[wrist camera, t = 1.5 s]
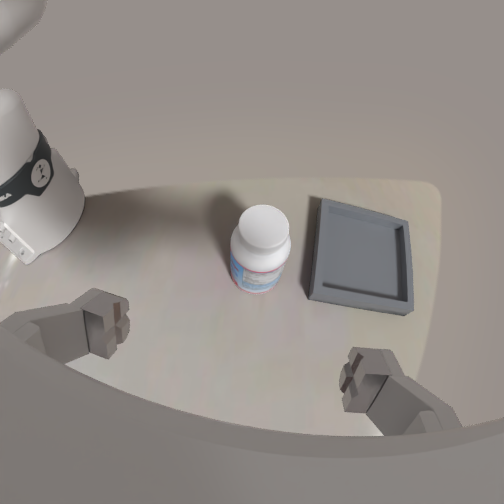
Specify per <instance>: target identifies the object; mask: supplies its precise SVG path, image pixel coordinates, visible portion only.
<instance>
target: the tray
mask: <svg viewBox="0 0 504 504" xmlns="http://www.w3.org/2000/svg"><path fill="white" fill-rule="evenodd" d="M308 299H309V300H314V301H319V302H325V303H330V304H336V305H341V306H347V307H353V308H359V309H364V310H370V311H376V312H382V313H389V314H395V315H401V316H405V315H407V314H408V313H410V312H412V311H414V293H413V270H412V256H411V244H410V235H409V226H408V221H405V220H402V219H399V218H395V217H392V216H388V215H385V214H381V213H377V212H374V211H370V210H366V209H363V208H359V207H355V206H351V205H347V204H343V203H339V202H335V201H331V200H327V199H322V200H321V202H320V205H319V207H318V212H317V224H316V234H315V244H314V254H313V263H312V272H311V280H310V288H309V295H308Z"/></svg>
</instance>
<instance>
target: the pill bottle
mask: <svg viewBox="0 0 504 504" xmlns="http://www.w3.org/2000/svg"><path fill="white" fill-rule="evenodd" d="M288 233H289V223H288V220H287V218H286V216H285V215H284V214H283V213H282V212H281V211H280V210H279V209H277V208H275V207H273V206H270V205H263V204H261V205H255V206H252V207H250V208H248V209H247V210H245V211H244V212H243V213H242V215H241V217H240V219H239V224H238V225H237V226H236V228H235V229H234V231H233V233H232V236H231V242H230V263H231V277H232V280H233V282H234V284H235V285H236V286H237V287H238V288H239V289H240V290H241V291H243V292H246V293H249V294H264V293H267V292H269V291H270V290H272V289H273V288H274V287H275V286H276V284H277V283H278V281H279V279H280V276H281V274H282V271H283V269H284V266H285V263H286V261H287V258H288V256H289V253H290V249H291V240H290V236H289V234H288Z"/></svg>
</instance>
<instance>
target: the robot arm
mask: <svg viewBox="0 0 504 504" xmlns="http://www.w3.org/2000/svg"><path fill="white" fill-rule="evenodd" d="M46 4H47V0H0V55H1V54H2V53H3V52H5V51H6V50H8V49H9V48H10V47H11V46H13V45H14V44H15V43H16V42H17V41H18V40H20V39H21V38H22V37H23V36H24V35H25V34H26V33H28V32H29V31H30V30H31V29H32V28H34V27H35V26H36V25H37V24H38V23H39V22H40V20H41V18H42V16H43V13H44V11H45V8H46ZM84 202H85V196H84V192H83V189H82V188H81V186H80V184H79V174H78V172H77V170H76V169H70V168H69V167H68V165H67V164H66V163H65V161H64V160H63V158H62V157H61V155H60V154H59V153H58V151H57V150H56V149H55V148H50V146H49V144H48V142H47V139H46V137H45V136H44V135H43V134H42V132H41V131H40V130H38V129H36V126H35V125H34V123H33V121H32V119H31V117H30V115H29V112H28V110H27V108H26V106H25V104H24V102H23V99H22V97H21V96H20V95H19V94H18V93H17V92H16V91H14V90H12V89H7V88H6V89H5V88H4V89H0V242H1V243H2V244H3V245H4V246H5V247H6V248H7V249H8V250H9V251H10V252H12V253H13V254H14V255H15V256H16V257H17V258H18V259H19V260H21V261H22V262H23V263H24V264H26V265H27V264H30V263H31V262H32V261H33V260H34V259H35V258H36V257H37V256H39V255H40V254H41V253H43V252H45V251H48V250H50V249H52V248H54V247H55V246H57V245H58V244H59V243H61V242H62V241H63V240H64V239H65V238H66V237H67V236H68V235H69V234H70V233H71V231H72V230H73V229H74V227H75V226H76V224H77V222H78V221H79V219H80V216H81V214H82V211H83V208H84ZM128 311H129V302H128V300H127V299H126V298H123V297H120V296H117V295H114V294H111V293H108V292H105V291H102V290H99V289H96V288H92V289H90V290H89V291H87V292H86V293H84V294H83V295H82V296H80V297H79V298H77V299H76V300H75V301H73V302H72V303H70V304H67V303H65V304H59V305H54V306H48V307H43V308H37V309H31V310H26V311H20V312H15V313H14V314H12V315H11V316H9V317H8V318H6V319H5V320H3V321H2V322H1V323H0V504H504V418H500V419H496V420H492V421H488V422H485V423H480V424H475V425H471V426H466V427H462V425H461V423H460V421H459V419H458V417H457V416H456V413H455V411H454V410H453V408H452V407H451V406H449V405H448V404H446V403H445V402H444V401H442V400H440V399H439V398H438V397H437V396H435V395H434V394H432V393H431V392H429V391H428V390H427V389H425V388H424V387H422V386H421V385H420V384H418V383H417V382H416V381H414V380H413V379H411V378H410V377H409V376H405V375H404V373H403V371H402V369H401V367H400V365H399V363H398V361H397V359H396V357H395V355H394V353H393V352H392V351H391V350H387V349H371V348H360V347H353V348H352V349H351V350H350V352H349V355H348V358H349V362H348V363H347V364H345V365H344V366H343V368H342V371H341V374H340V379H339V387H340V390H341V391H342V392H343V393H344V395H343V397H342V402H343V407H344V412H352V413H366V415H367V416H368V417H369V418H370V420H371V421H372V422H373V423H374V424H375V425H376V427H377V428H378V429H379V430H380V431H381V432H382V434H383V435H384V436H326V435H312V434H300V433H291V432H282V431H275V430H268V429H261V428H255V427H250V426H244V425H239V424H234V423H229V422H224V421H219V420H215V419H211V418H207V417H203V416H199V415H195V414H191V413H187V412H184V411H180V410H177V409H173V408H170V407H167V406H164V405H161V404H158V403H154V402H151V401H149V400H146V399H143V398H140V397H137V396H135V395H132V394H129V393H127V392H124V391H122V390H119V389H117V388H114V387H112V386H109V385H107V384H105V383H102V382H100V381H98V380H95V379H93V378H91V377H89V376H87V375H85V374H82V373H80V372H78V371H76V370H74V369H72V368H70V367H68V366H66V365H64V364H65V363H68V362H70V361H73V360H75V359H77V358H80V357H82V356H84V355H87V354H89V352H90V353H92V354H95V355H98V356H100V357H103V358H105V359H108V360H109V358H110V357H111V356H112V355H113V354H114V353H115V351H116V350H117V345H118V344H121V343H123V342H124V341H125V339H126V338H127V335H128V333H129V328H130V320H129V318H128V316H127V315H126V313H127V312H128Z"/></svg>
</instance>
